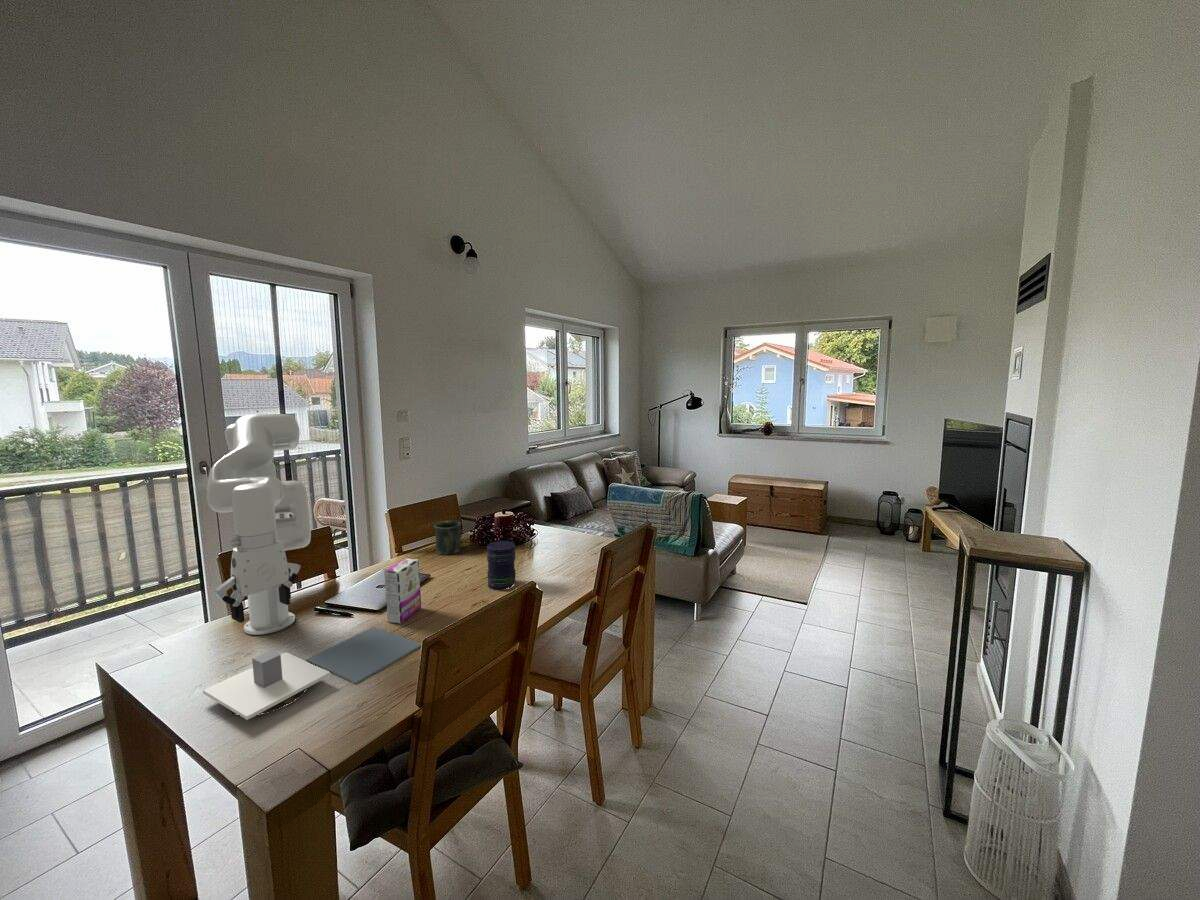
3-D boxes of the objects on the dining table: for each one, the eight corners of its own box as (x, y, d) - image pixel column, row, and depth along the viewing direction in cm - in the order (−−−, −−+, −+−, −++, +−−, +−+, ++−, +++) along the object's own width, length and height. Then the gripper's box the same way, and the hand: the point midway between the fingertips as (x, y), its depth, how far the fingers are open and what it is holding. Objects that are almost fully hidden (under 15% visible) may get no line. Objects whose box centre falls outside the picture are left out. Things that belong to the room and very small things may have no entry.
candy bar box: (407, 606, 159) (405, 557, 157) (421, 608, 158) (419, 558, 156) (386, 622, 148) (383, 570, 146) (401, 624, 147) (398, 572, 145)
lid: (203, 693, 110) (200, 665, 109) (286, 655, 126) (284, 630, 125) (247, 720, 101) (244, 689, 101) (330, 675, 117) (328, 648, 116)
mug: (429, 553, 207) (428, 526, 206) (451, 543, 221) (450, 517, 219) (450, 557, 204) (449, 529, 202) (471, 546, 217) (471, 520, 216)
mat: (306, 661, 127) (305, 659, 127) (374, 628, 145) (374, 626, 144) (355, 684, 118) (355, 682, 118) (422, 646, 135) (422, 644, 135)
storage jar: (518, 580, 181) (518, 541, 179) (511, 591, 171) (510, 550, 169) (492, 579, 182) (491, 540, 180) (483, 590, 172) (482, 548, 170)
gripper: (220, 554, 100) (228, 633, 102) (305, 531, 115) (310, 600, 117) (202, 547, 103) (210, 623, 106) (287, 526, 118) (292, 593, 121)
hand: (262, 611), depth 112 cm, fingers open, 9 cm apart
